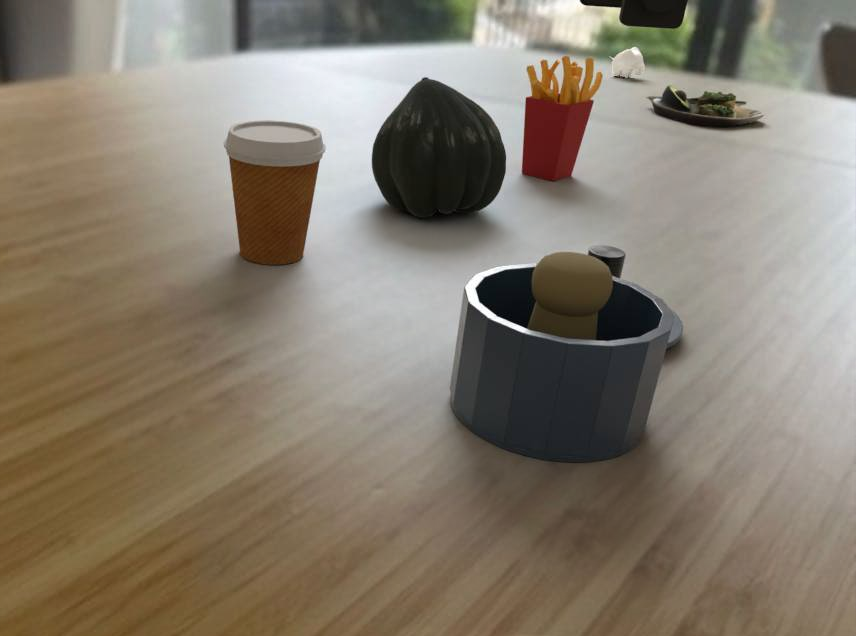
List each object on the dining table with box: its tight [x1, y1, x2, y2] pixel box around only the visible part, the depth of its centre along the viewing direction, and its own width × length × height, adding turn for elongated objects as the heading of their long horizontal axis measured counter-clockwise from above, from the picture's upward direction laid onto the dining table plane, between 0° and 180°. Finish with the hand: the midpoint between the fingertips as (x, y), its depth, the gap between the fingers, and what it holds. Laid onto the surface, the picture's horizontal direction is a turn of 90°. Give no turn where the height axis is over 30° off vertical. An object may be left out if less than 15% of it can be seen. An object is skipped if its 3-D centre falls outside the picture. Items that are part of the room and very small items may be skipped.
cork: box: [527, 251, 613, 340], centre depth 62 cm, size 6×6×11 cm
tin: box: [449, 262, 675, 463], centre depth 63 cm, size 14×14×8 cm
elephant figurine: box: [609, 46, 646, 79], centre depth 193 cm, size 7×8×6 cm
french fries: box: [521, 55, 604, 182], centre depth 119 cm, size 9×8×15 cm
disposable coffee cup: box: [223, 120, 327, 266], centre depth 87 cm, size 10×10×12 cm
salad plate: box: [645, 84, 765, 128], centre depth 161 cm, size 19×18×5 cm
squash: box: [371, 76, 507, 219], centre depth 102 cm, size 14×15×15 cm
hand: (625, 15), depth 52 cm, fingers open, 9 cm apart
